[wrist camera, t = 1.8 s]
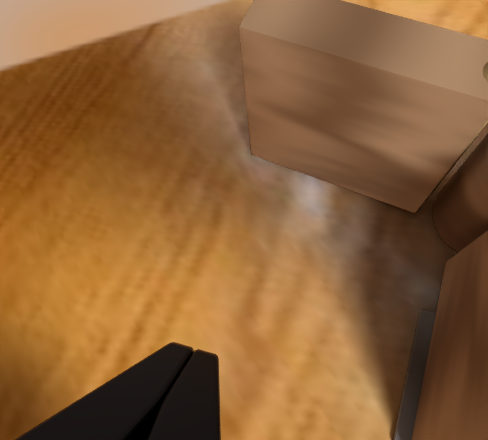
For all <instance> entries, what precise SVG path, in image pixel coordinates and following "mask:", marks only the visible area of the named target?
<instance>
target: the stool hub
mask: <svg viewBox="0 0 488 440" xmlns="http://www.w3.org/2000/svg"><path fill="white" fill-rule="evenodd" d="M432 218H433V223H434V225H435V228H436V230H437V232H438V234H439V235H440V237H441V238H442V239H443V241H444V242H445V243H446V244H447V245H448V246H450V247H451V248H452V249H454V250H455V251H457V252H459V253H457V254H456V255H455V256H453V257H452V258H451V259H449V260H448V261H447V262H446V264H445V269H444V275H443V280H442V285H441V290H440V295H439V300H438V306H437V311H436V313H435V312H431V311H428V310H425V309H420V312H419V316H418V321H417V326H416V331H415V336H414V341H413V346H412V350H411V355H410V360H409V365H408V370H407V375H406V380H405V384H404V389H403V394H402V399H401V404H400V409H399V414H398V418H397V423H396V428H395V433H394V438H393V440H488V134H487V135H486V137H485V138H484V139H483V140H482V141H481V143H480V144H479V145H478V146H477V147H476V149H475V150H474V151H473V152H472V153H471V155H470V156H469V157H468V158H467V160H466V161H465V162H464V163H463V164H462V166H461V167H460V168H459V169H458V170H457V172H456V173H455V174H454V175H453V176H452V178H451V179H450V180H449V181H448V183H447V184H446V185H445V186H444V187H443V189H442V190H441V191H440V192H439V193H438V195H437V197H436V198H435V201H434V204H433V208H432Z"/></svg>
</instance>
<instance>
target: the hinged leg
mask: <svg viewBox="0 0 488 440" xmlns="http://www.w3.org/2000/svg"><path fill="white" fill-rule="evenodd" d="M239 34H240V44H241V54H242V64H243V74H244V85H245V95H246V105H247V115H248V125H249V135H250V146H251V155H254V156H257V157H260V158H262V159H265V160H268V161H271V162H274V163H276V164H279V165H282V166H285V167H287V168H290V169H293V170H296V171H299V172H301V173H304V174H307V175H310V176H313V177H315V178H318V179H321V180H324V181H326V182H329V183H332V184H335V185H338V186H340V187H343V188H346V189H349V190H351V191H354V192H357V193H360V194H363V195H365V196H368V197H371V198H374V199H377V200H379V201H382V202H385V203H388V204H390V205H393V206H396V207H399V208H402V209H404V210H407V211H410V212H413V213H415V212H416V211H417V210H418V208H419V207H420V206H421V204H422V203H423V202H424V201H426V200H427V199H428V198H429V196H430V195H431V194H432V193H433V191H434V190H435V189H436V188H437V186H438V185H439V184H440V183H441V181H442V180H443V179H444V177H445V176H446V175H447V174H448V172H449V171H450V170H451V169H452V167H453V166H454V165H455V164H456V162H457V161H458V160H459V159H460V157H461V156H462V155H463V153H464V152H465V151H466V150H467V148H468V147H469V146H470V145H471V143H472V142H473V141H474V140H475V138H476V137H477V136H478V135H479V133H480V132H481V131H482V129H483V128H484V127H485V126H486V124H487V123H488V40H486V39H483V38H479V37H475V36H471V35H468V34H464V33H460V32H456V31H453V30H449V29H445V28H442V27H438V26H434V25H430V24H427V23H423V22H419V21H415V20H412V19H408V18H404V17H401V16H397V15H393V14H389V13H386V12H382V11H378V10H374V9H371V8H367V7H363V6H360V5H356V4H352V3H348V2H345V1H341V0H254V1H253V3H252V5H251V6H250V8H249V10H248V12H247V13H246V15H245V17H244V19H243V20H242V22H241V24H240V26H239Z"/></svg>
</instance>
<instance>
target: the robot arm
mask: <svg viewBox="0 0 488 440" xmlns="http://www.w3.org/2000/svg"><path fill="white" fill-rule="evenodd" d="M15 440H221V429H220V393H219V359H218V356H217V355H216V354H213V353H210V352H206V351H203V350H199V349H198V350H195V351H194V350H193V348H192V347H189V346H186V345H182V344H179V343H175V342H172V343H169V344H167V345H166V346H164V347H162V348H161V349H159V350H158V351H156V352H154V353H153V354H151V355H150V356H148V357H146V358H145V359H143V360H142V361H140V362H138V363H137V364H135V365H134V366H132V367H130V368H129V369H127V370H126V371H124V372H122V373H121V374H119V375H118V376H116V377H114V378H113V379H111V380H110V381H108V382H106V383H105V384H103V385H101V386H100V387H98V388H97V389H95V390H93V391H92V392H90V393H89V394H87V395H85V396H84V397H82V398H81V399H79V400H77V401H76V402H74V403H73V404H71V405H69V406H68V407H66V408H65V409H63V410H61V411H60V412H58V413H57V414H55V415H53V416H52V417H50V418H49V419H47V420H45V421H44V422H42V423H41V424H39V425H37V426H36V427H34V428H33V429H31V430H29V431H28V432H26V433H24V434H23V435H21V436H20V437H18V438H16V439H15Z"/></svg>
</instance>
